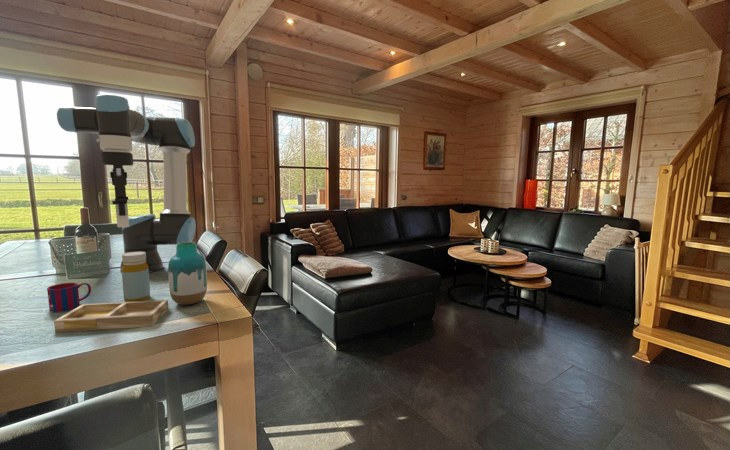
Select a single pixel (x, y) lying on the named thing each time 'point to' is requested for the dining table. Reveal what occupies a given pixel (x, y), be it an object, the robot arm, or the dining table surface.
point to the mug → (65, 296)
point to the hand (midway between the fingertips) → (123, 223)
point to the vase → (187, 274)
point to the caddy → (112, 316)
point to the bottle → (135, 277)
